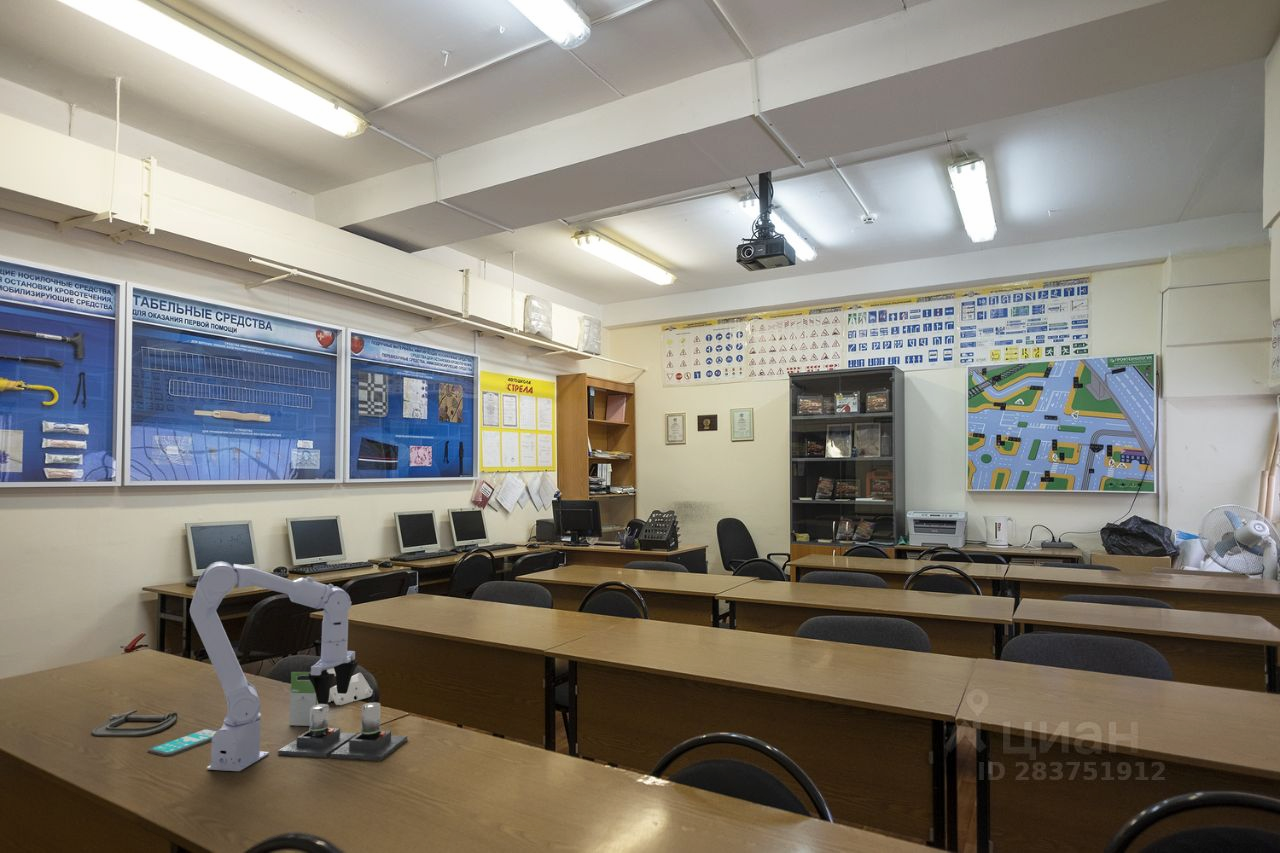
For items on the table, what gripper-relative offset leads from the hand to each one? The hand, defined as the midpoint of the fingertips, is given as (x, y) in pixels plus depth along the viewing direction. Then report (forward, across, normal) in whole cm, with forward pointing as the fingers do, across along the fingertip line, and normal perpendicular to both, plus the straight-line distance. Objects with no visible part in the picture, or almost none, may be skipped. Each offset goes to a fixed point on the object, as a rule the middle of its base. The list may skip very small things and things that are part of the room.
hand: (332, 698), depth 162 cm
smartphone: (+11, -5, +34) cm, 36 cm away
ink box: (+11, +11, +14) cm, 21 cm away
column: (+6, -2, -11) cm, 13 cm away
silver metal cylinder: (+7, -2, +2) cm, 8 cm away
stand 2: (+10, -2, -11) cm, 15 cm away
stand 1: (+10, -2, +2) cm, 11 cm away
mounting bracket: (+11, +30, +16) cm, 35 cm away
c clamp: (+11, +4, +56) cm, 57 cm away
